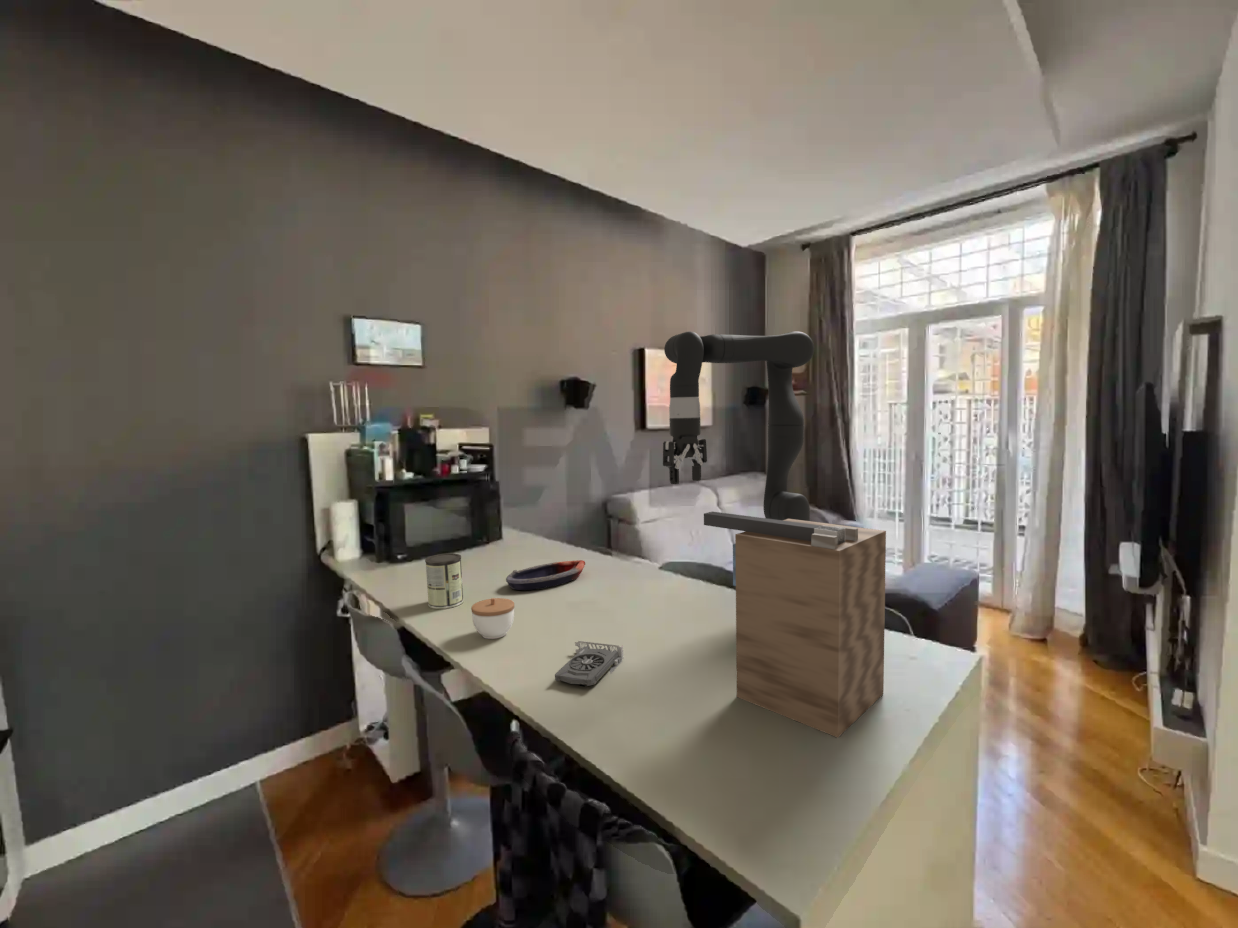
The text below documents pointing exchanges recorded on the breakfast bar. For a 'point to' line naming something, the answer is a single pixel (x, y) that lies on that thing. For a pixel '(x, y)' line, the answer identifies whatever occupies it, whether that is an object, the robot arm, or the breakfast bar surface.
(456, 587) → the coffee can
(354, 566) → the breakfast bar surface
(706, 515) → the dark gray rectangular panel
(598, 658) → the graphics card
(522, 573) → the dish
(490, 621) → the lidded jar
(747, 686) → the cabinet
